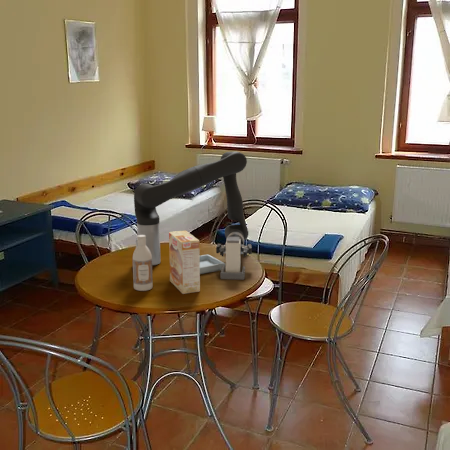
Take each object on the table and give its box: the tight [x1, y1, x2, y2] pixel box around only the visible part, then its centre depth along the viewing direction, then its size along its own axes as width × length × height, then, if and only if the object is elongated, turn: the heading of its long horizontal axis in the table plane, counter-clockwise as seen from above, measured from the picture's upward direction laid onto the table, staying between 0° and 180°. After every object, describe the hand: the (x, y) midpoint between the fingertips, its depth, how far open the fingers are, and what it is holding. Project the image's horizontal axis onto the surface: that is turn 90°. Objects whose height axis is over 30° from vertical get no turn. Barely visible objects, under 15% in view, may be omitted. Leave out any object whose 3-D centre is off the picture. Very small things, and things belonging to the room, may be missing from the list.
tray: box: [200, 254, 226, 275], centre depth 224 cm, size 14×14×3 cm
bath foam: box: [132, 235, 154, 292], centre depth 199 cm, size 7×7×20 cm
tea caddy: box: [225, 237, 241, 273], centre depth 214 cm, size 6×6×15 cm
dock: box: [220, 265, 246, 281], centre depth 215 cm, size 8×9×2 cm
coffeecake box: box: [168, 230, 201, 295], centre depth 201 cm, size 15×7×20 cm, turn 23°
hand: (233, 254), depth 214 cm, fingers open, 8 cm apart
